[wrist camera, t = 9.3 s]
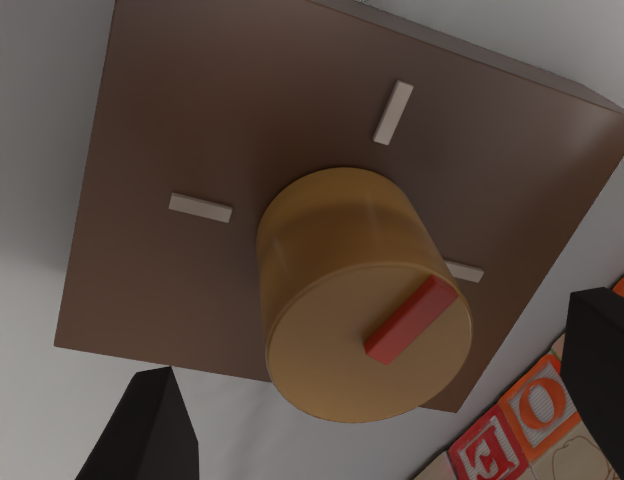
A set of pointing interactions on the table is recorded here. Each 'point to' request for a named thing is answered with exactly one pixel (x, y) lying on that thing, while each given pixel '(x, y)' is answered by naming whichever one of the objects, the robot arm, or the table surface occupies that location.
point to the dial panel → (312, 168)
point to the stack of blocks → (528, 434)
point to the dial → (356, 299)
